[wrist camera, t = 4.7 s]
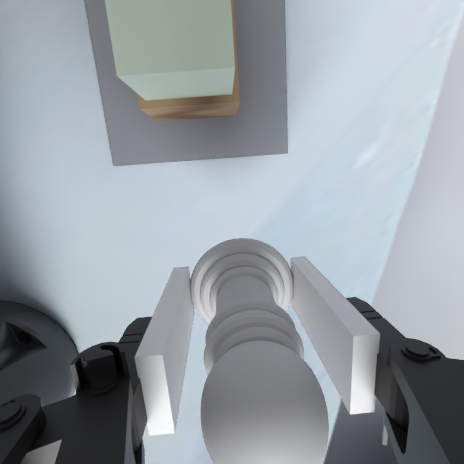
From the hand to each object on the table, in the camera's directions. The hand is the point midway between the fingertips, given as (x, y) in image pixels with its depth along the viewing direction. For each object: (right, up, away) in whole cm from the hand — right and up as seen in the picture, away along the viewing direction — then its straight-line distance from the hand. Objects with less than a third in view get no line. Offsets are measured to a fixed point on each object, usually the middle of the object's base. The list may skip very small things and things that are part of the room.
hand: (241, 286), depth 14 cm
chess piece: (0, 0, +1) cm, 1 cm away
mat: (-4, +16, +9) cm, 19 cm away
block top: (-4, +15, +4) cm, 16 cm away
